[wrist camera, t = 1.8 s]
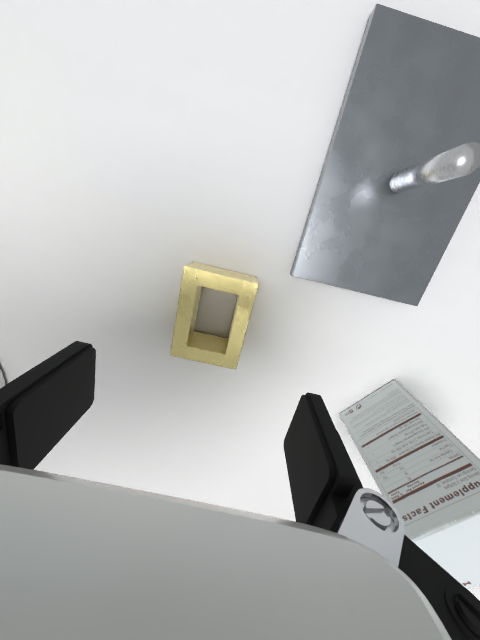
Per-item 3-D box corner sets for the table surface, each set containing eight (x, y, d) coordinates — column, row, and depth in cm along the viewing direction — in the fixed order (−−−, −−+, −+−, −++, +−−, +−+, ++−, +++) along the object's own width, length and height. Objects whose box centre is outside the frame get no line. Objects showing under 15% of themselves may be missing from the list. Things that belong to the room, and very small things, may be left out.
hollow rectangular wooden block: (236, 351, 25) (235, 369, 22) (179, 339, 25) (170, 355, 21) (256, 276, 23) (258, 284, 19) (192, 261, 22) (184, 266, 19)
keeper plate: (410, 303, 23) (476, 330, 17) (290, 273, 22) (310, 290, 16) (525, 68, 17) (699, -35, 11) (369, 16, 17) (453, -128, 10)
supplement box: (426, 418, 28) (564, 556, 16) (369, 450, 29) (456, 596, 18) (395, 376, 26) (524, 496, 14) (336, 412, 28) (407, 547, 16)
